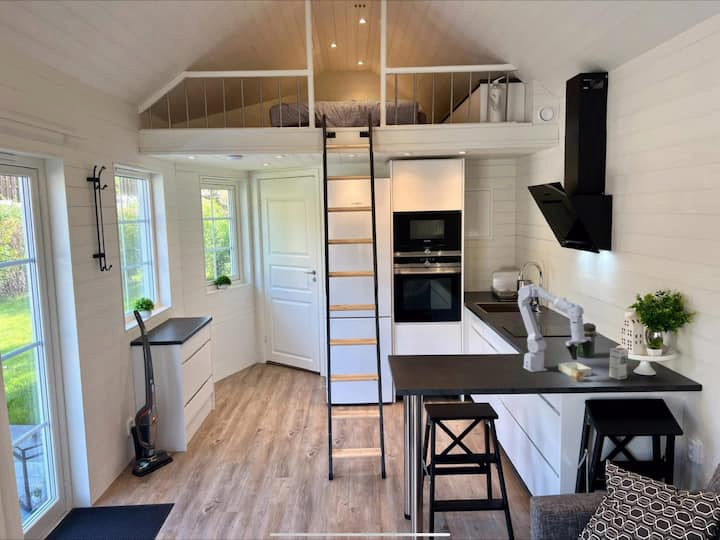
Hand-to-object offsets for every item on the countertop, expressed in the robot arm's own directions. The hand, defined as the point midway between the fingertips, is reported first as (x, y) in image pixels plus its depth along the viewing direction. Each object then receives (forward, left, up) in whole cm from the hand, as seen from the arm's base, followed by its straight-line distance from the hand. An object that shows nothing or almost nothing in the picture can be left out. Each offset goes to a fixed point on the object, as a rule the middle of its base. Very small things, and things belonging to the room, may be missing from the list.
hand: (580, 358), depth 243 cm
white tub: (+4, +9, -11) cm, 14 cm away
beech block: (-2, -1, -11) cm, 11 cm away
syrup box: (+20, -3, -11) cm, 23 cm away
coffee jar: (+29, +31, -11) cm, 44 cm away
